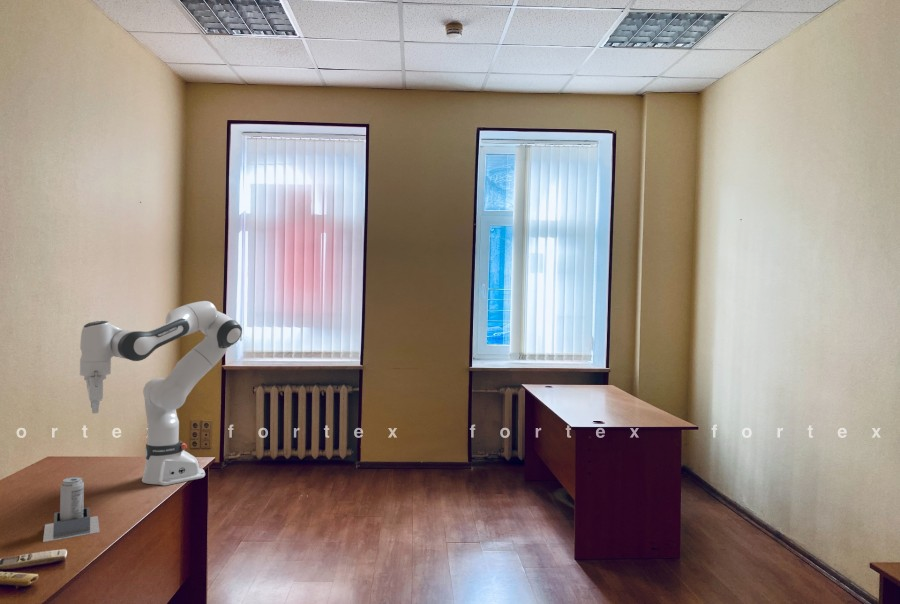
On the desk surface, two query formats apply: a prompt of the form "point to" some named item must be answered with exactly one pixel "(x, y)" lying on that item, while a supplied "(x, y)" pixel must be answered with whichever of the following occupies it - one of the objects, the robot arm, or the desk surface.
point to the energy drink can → (71, 498)
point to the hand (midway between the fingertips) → (94, 410)
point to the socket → (71, 526)
